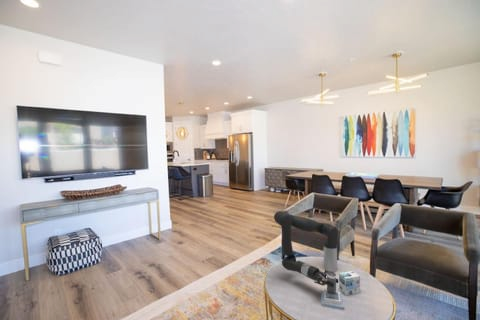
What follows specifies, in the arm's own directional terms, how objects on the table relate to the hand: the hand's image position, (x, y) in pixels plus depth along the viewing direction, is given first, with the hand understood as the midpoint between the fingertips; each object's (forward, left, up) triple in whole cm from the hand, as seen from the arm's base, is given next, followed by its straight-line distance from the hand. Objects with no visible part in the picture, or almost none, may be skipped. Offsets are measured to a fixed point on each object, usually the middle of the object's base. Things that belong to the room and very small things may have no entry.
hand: (335, 283), depth 129 cm
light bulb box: (-14, +9, -12) cm, 21 cm away
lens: (-1, -2, -6) cm, 7 cm away
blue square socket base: (-1, -2, -12) cm, 12 cm away
